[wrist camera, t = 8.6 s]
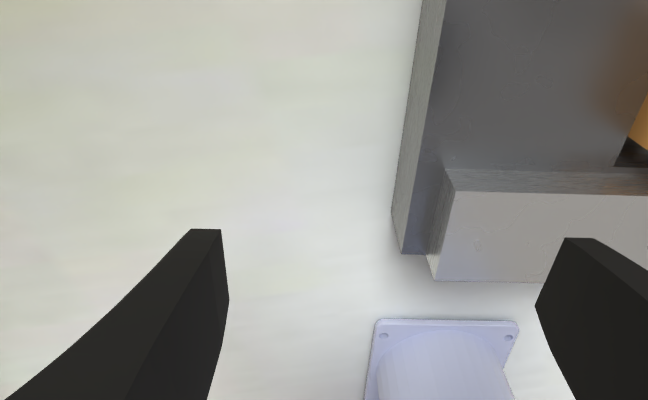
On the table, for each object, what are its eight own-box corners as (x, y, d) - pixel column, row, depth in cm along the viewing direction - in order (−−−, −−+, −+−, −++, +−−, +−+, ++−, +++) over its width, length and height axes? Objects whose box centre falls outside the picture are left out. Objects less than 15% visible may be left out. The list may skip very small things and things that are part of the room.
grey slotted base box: (685, 219, 20) (768, 287, 17) (390, 211, 20) (407, 280, 16) (983, -264, 12) (1305, -353, 8) (467, -295, 11) (542, -403, 7)
